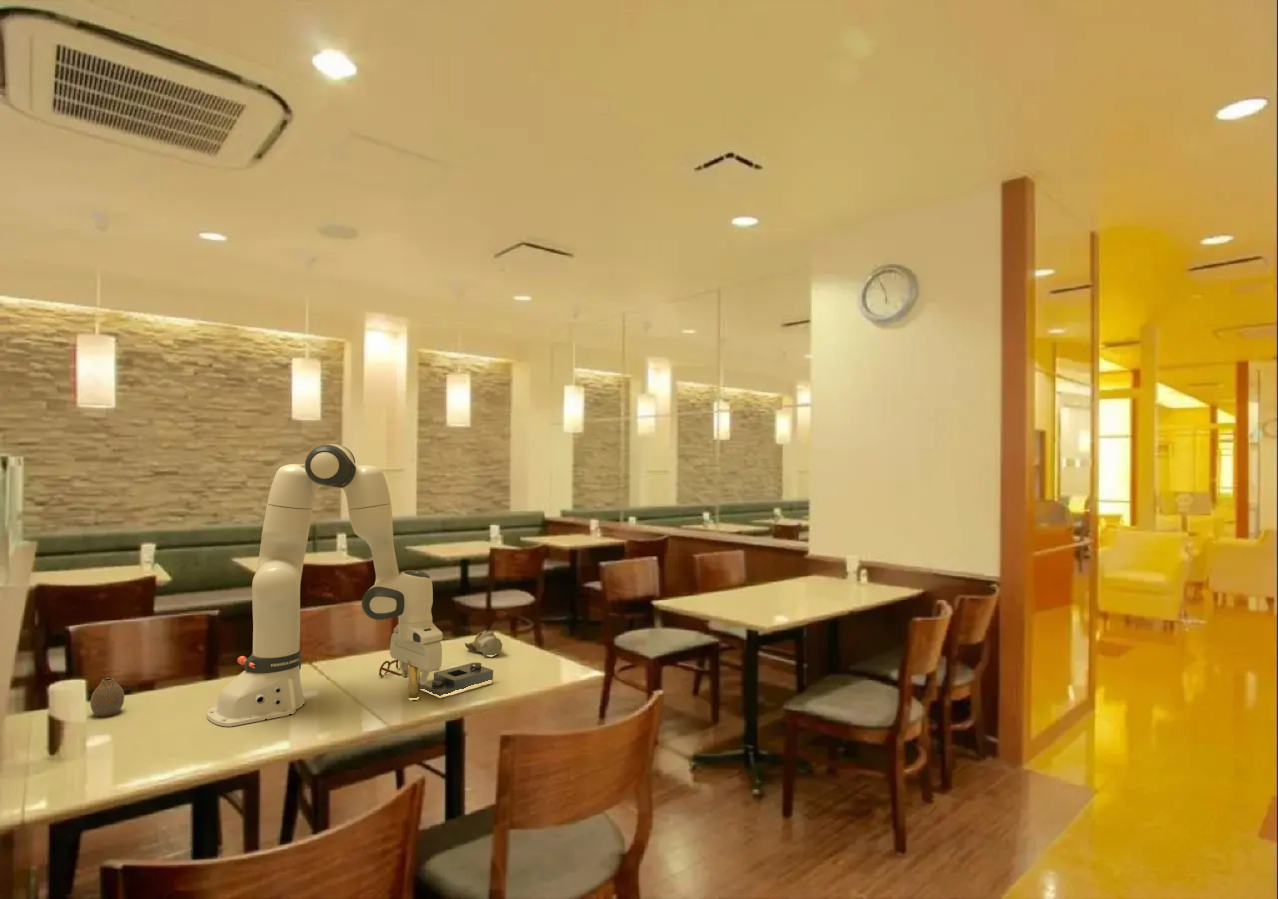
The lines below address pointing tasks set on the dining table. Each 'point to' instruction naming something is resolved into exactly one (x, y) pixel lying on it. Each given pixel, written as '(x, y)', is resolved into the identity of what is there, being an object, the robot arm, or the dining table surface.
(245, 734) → the dining table surface
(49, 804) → the dining table surface
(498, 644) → the ceramic sculpture
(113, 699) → the vase
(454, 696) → the dining table surface
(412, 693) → the pin
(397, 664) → the glasses
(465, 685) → the metal plate with knobs
